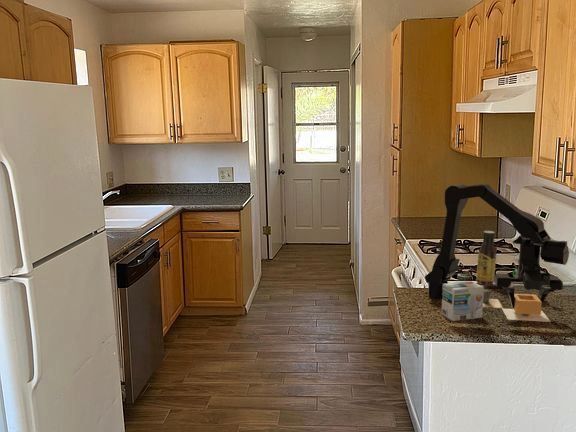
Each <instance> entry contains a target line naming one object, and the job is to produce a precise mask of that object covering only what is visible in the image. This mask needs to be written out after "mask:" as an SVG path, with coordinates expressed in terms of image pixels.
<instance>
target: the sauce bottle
mask: <svg viewBox="0 0 576 432" xmlns="http://www.w3.org/2000/svg"><path fill="white" fill-rule="evenodd" d="M482 233H483V234H482V235H483V238H482V239H483V240H482V243H481V246H480V248H479V250H478V255H477V265H476V266H477V268H476V284H479V285H481V286H491V285H493V284H495V283H494V276H495V275H496V274H495V271H496V260H497V248H496V246H495V244H494V243H495V235H496V232H495V231H493V230H484V231H483V232H482Z"/></svg>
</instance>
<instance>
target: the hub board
mask: <svg viewBox="0 0 576 432" xmlns="http://www.w3.org/2000/svg"><path fill="white" fill-rule="evenodd" d="M501 309H502V312H503V313H504V315H505V317H506V318H507V320H509V321H527V322H529V321H530V322H544V323H545V322H546V323H551V322H552V321H551V320H550V319H549V318H548V316H547V314H545V313H544V311H543V310H542V309H541V315H538V314H520V313H516V312H515V311H514V309H513V308H504V307H503V308H501Z"/></svg>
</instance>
